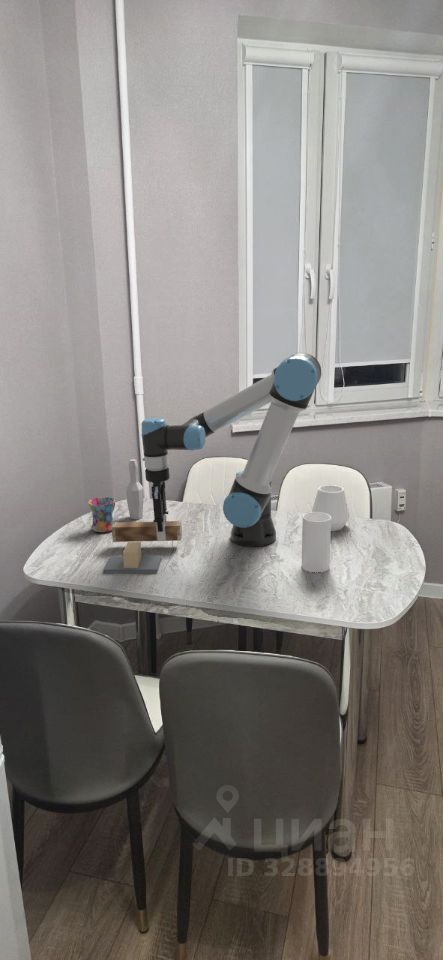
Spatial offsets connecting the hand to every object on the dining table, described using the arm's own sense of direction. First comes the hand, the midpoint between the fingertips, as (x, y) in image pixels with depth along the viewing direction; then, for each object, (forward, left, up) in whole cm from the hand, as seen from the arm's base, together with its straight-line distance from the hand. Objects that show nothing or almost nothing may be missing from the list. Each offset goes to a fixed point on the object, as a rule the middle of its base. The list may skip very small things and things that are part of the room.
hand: (162, 536), depth 200 cm
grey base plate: (+7, +15, -3) cm, 17 cm away
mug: (+22, -17, -4) cm, 28 cm away
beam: (+5, 0, -1) cm, 5 cm away
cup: (-48, +16, -4) cm, 50 cm away
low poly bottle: (+13, -28, -4) cm, 31 cm away
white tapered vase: (-57, -18, -4) cm, 60 cm away
